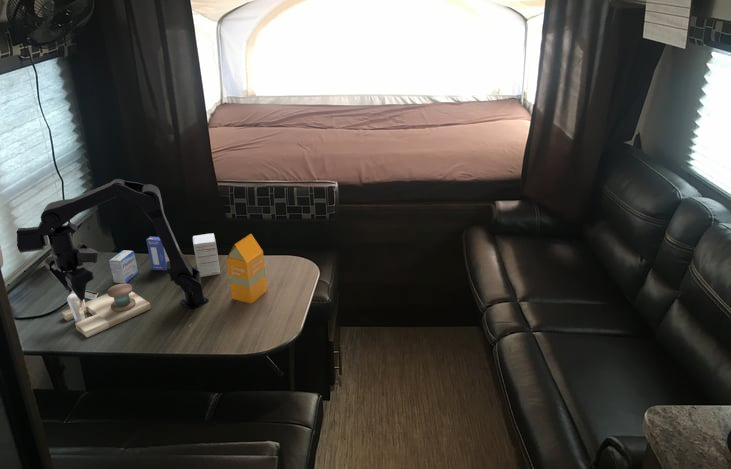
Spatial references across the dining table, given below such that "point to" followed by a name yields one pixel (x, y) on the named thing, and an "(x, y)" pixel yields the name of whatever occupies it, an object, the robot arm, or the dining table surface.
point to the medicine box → (123, 266)
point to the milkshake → (77, 307)
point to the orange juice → (247, 270)
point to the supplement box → (206, 254)
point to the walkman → (157, 253)
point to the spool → (121, 297)
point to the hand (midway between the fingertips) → (75, 294)
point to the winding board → (105, 314)
